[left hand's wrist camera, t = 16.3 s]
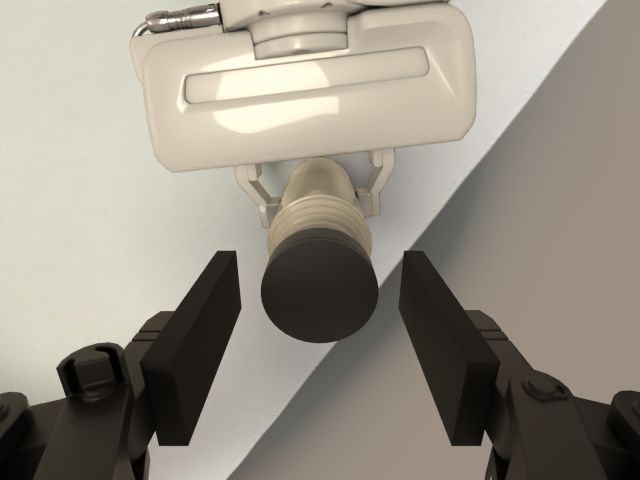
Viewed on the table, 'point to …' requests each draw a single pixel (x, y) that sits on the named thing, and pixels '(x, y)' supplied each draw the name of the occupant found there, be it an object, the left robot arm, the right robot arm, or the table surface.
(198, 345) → the left robot arm
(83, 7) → the table surface
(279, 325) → the cap
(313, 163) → the bottle
